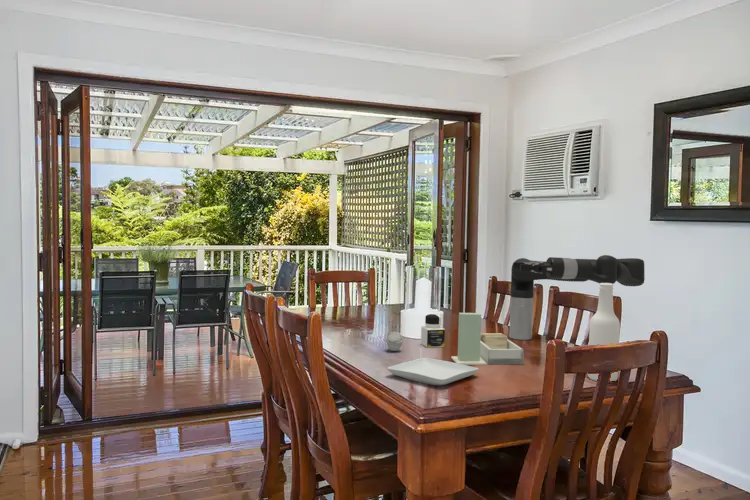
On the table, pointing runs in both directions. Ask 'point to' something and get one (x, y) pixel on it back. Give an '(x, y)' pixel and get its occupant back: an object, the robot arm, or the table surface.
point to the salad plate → (432, 371)
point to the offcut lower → (496, 345)
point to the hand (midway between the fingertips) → (516, 266)
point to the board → (469, 336)
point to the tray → (502, 354)
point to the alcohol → (604, 323)
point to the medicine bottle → (432, 332)
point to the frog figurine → (394, 341)
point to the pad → (469, 361)
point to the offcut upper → (493, 338)
